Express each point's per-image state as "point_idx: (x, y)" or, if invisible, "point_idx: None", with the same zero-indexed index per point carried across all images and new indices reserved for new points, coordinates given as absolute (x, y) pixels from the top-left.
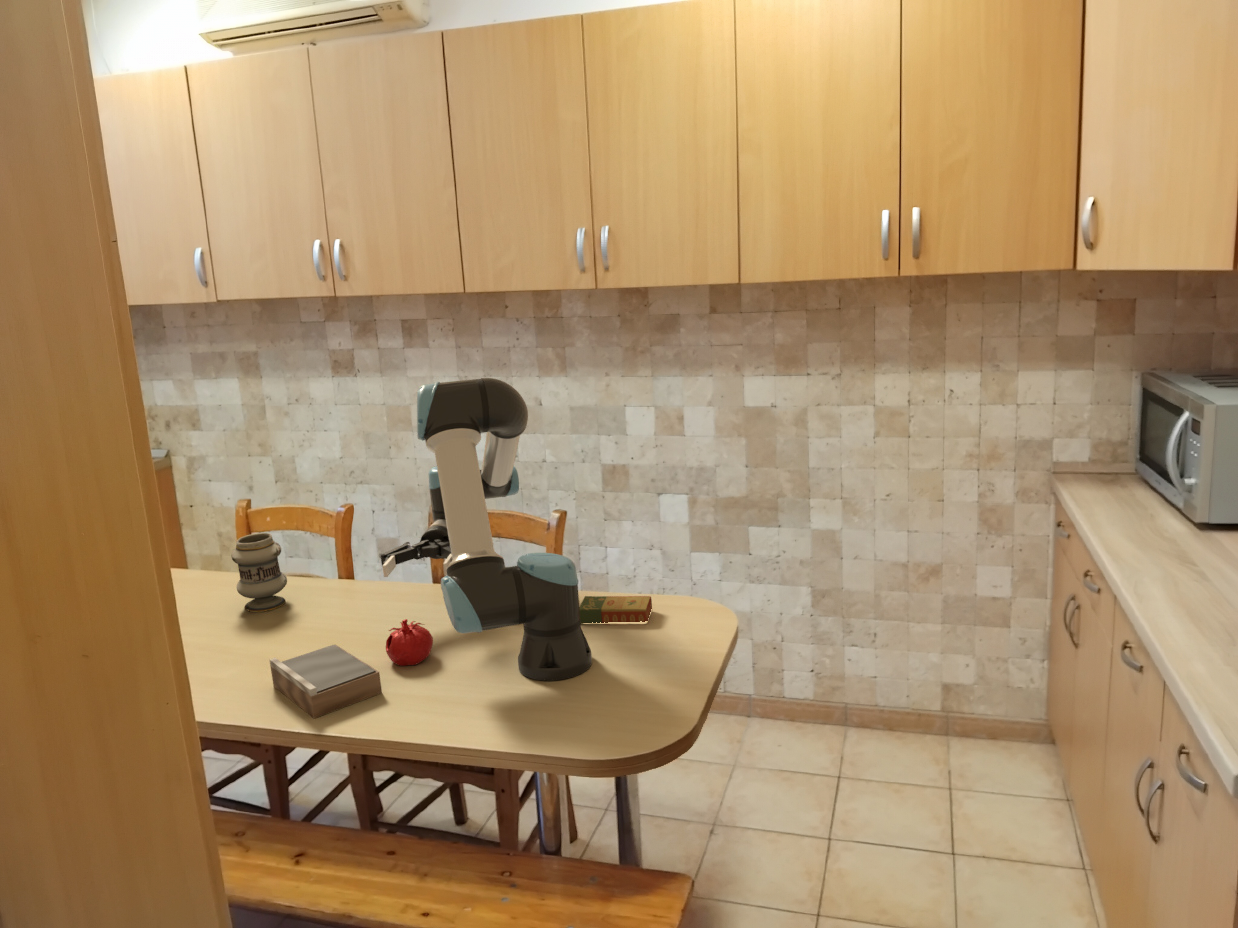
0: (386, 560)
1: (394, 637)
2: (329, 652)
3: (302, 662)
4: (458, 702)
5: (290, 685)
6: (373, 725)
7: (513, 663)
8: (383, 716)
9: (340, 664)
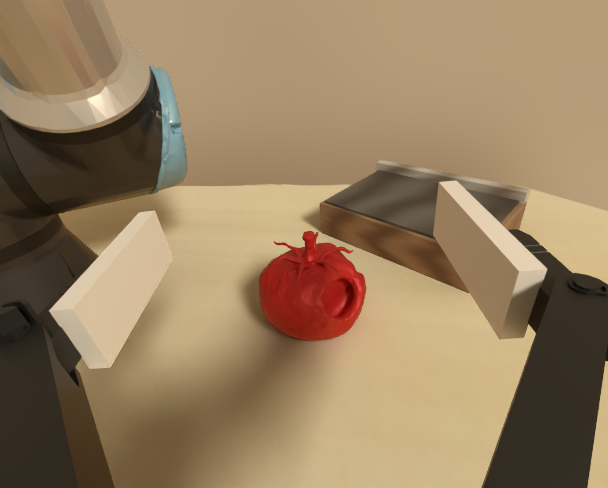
0: (538, 255)
1: (328, 243)
2: None
3: None
4: (212, 226)
5: None
6: (303, 194)
7: None
8: (298, 203)
9: (395, 206)
